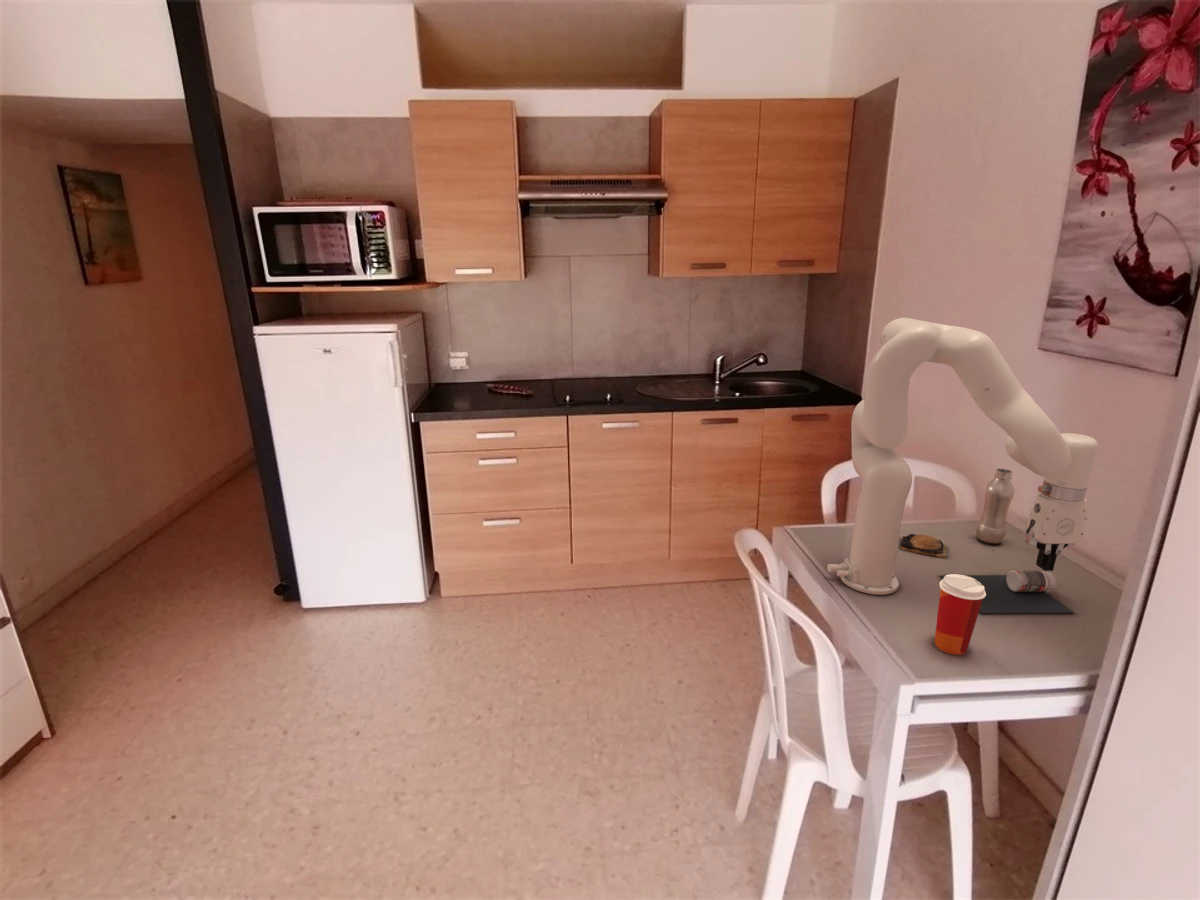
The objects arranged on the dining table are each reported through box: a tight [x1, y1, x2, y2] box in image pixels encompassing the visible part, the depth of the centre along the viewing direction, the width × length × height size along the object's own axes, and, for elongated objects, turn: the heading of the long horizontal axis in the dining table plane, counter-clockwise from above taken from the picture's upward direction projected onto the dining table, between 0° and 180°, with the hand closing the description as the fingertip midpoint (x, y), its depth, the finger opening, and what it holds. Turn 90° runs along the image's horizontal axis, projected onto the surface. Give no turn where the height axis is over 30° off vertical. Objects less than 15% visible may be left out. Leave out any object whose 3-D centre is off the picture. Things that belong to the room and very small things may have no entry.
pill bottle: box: [1006, 569, 1056, 592], centre depth 139 cm, size 5×5×8 cm
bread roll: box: [900, 533, 947, 559], centre depth 159 cm, size 11×8×4 cm
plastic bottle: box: [975, 468, 1016, 544], centre depth 161 cm, size 6×7×20 cm
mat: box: [939, 574, 1074, 615], centre depth 138 cm, size 20×16×1 cm
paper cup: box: [934, 573, 986, 656], centre depth 117 cm, size 8×8×14 cm
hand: (1044, 567), depth 136 cm, fingers closed
